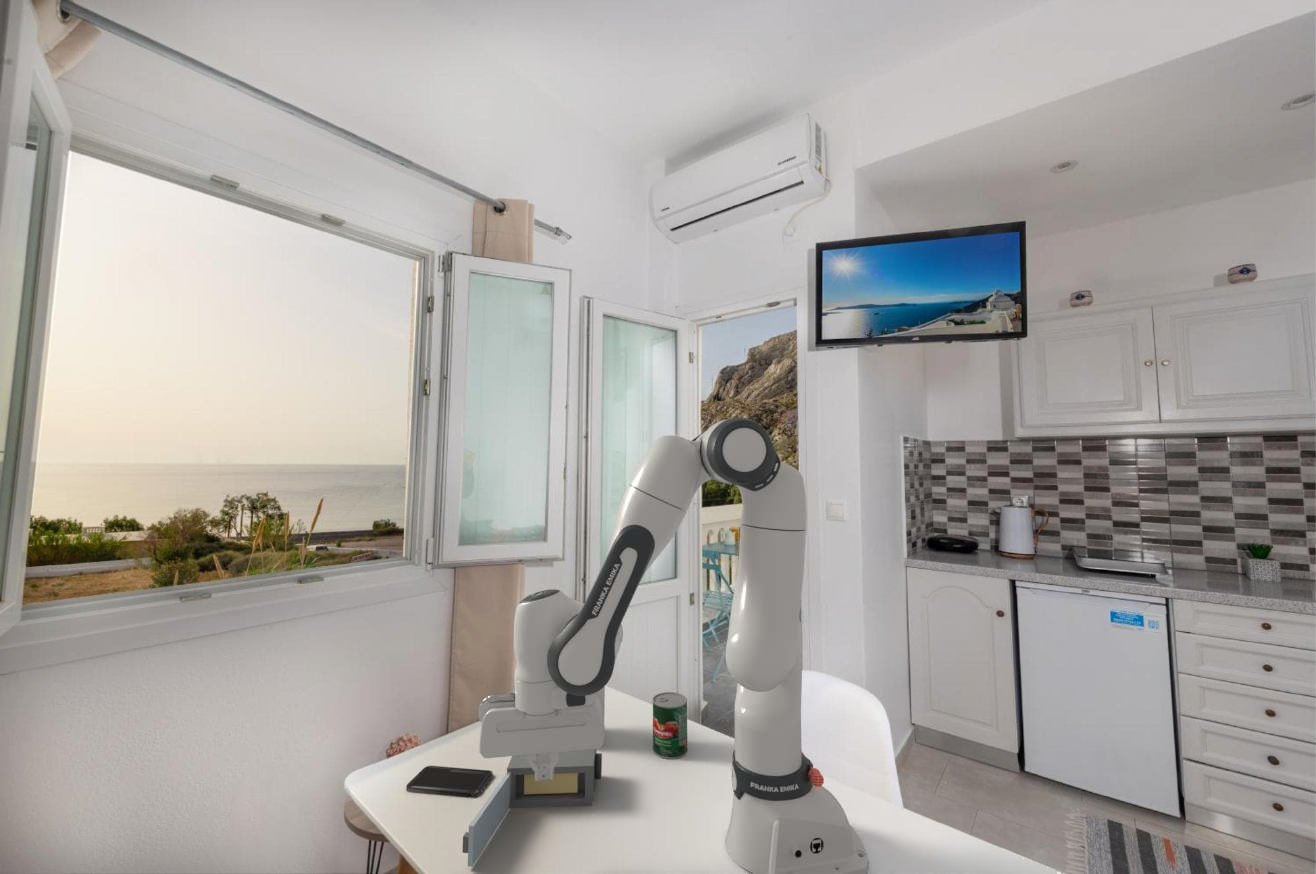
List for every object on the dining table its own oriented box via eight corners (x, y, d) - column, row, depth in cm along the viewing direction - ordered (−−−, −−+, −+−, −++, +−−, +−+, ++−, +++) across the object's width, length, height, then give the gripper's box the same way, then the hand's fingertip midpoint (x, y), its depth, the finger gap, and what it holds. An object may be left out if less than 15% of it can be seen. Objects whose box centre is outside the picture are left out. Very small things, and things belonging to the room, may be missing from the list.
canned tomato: (688, 741, 118) (688, 692, 119) (687, 760, 111) (686, 707, 111) (654, 740, 119) (654, 691, 120) (650, 758, 111) (650, 706, 112)
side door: (473, 866, 80) (474, 826, 80) (461, 865, 80) (462, 825, 80) (511, 806, 94) (512, 772, 95) (501, 805, 94) (502, 771, 95)
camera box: (601, 774, 105) (602, 739, 106) (599, 804, 95) (599, 765, 96) (517, 777, 104) (518, 741, 105) (506, 808, 94) (507, 768, 95)
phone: (476, 794, 97) (403, 787, 99) (476, 800, 97) (403, 793, 99) (494, 770, 105) (427, 764, 107) (494, 776, 105) (427, 770, 107)
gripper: (472, 704, 81) (474, 796, 80) (601, 693, 83) (605, 784, 81) (483, 688, 87) (485, 773, 86) (603, 679, 89) (606, 763, 88)
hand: (544, 778), depth 84 cm, fingers closed
